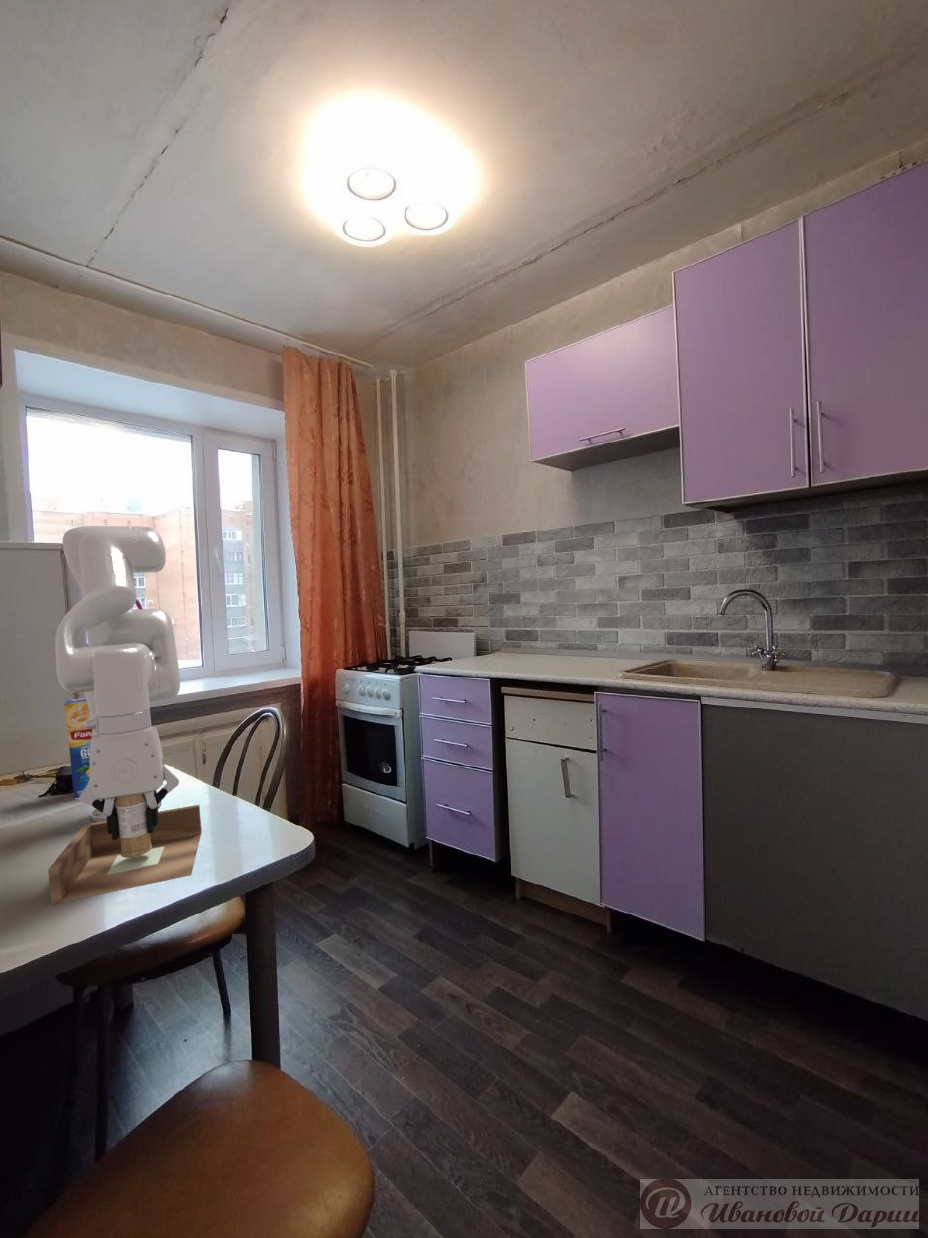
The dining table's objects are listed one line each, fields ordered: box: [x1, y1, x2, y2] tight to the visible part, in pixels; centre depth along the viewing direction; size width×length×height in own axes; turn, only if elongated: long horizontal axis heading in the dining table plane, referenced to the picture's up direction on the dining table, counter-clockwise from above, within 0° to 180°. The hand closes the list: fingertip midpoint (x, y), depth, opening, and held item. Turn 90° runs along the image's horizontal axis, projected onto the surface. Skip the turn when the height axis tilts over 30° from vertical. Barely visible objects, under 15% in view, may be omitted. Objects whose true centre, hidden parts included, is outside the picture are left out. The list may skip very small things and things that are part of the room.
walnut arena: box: [47, 804, 203, 905], centre depth 92 cm, size 18×18×6 cm
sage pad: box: [107, 847, 164, 875], centre depth 93 cm, size 7×7×1 cm
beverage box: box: [64, 697, 93, 799], centre depth 134 cm, size 7×11×22 cm, turn 123°
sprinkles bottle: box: [116, 793, 152, 858], centre depth 92 cm, size 5×5×14 cm
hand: (134, 832), depth 93 cm, fingers closed on sprinkles bottle, 4 cm apart
